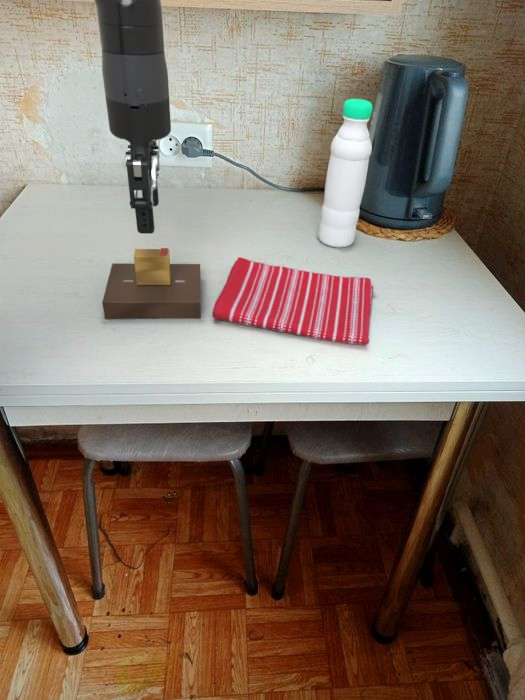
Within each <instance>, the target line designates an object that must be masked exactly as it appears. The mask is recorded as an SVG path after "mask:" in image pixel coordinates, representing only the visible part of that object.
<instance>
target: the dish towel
mask: <svg viewBox="0 0 525 700" xmlns="http://www.w3.org/2000/svg"><path fill="white" fill-rule="evenodd" d="M373 296H374V285H373V283H372V279H371V278H369V277H359V276H343V275H333V274H327V273H321V272H320V273H319V272H312V271H307V270H303V269H302V270H301V269H298V268H291V267H285V266H282V265H271V264H268V263H263V262H257V261H254V260H249V259H247V258H244V257H240V256H238V257H237V259H236V260H235V262H234V263H233V265H232V267H231V269H230V272H229V274H228V276H227V280H226V281H225V284H224V286H223V288H222V290H221V291H220V294H219V296H218V297H217V299H216V301H215V303H214V305H213V309H212V313H211V315H212V318H214V320H218V321H225V322H230V323H234V324H239V325H244V326H248V327H254V328H260V329H265V330H270V331H275V332H278V333H279V332H280V333H285V334H292V335H295V336H301V337H306V338H312V339H317V340H323V341H329V342H335V343H343V344H349V345H359V346H362V345H363V346H366V345H368V344H369V343H370V338H369V334H370V326H371V324H370V323H371V316H372V310H373V309H372V306H373V298H374V297H373Z"/></svg>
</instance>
